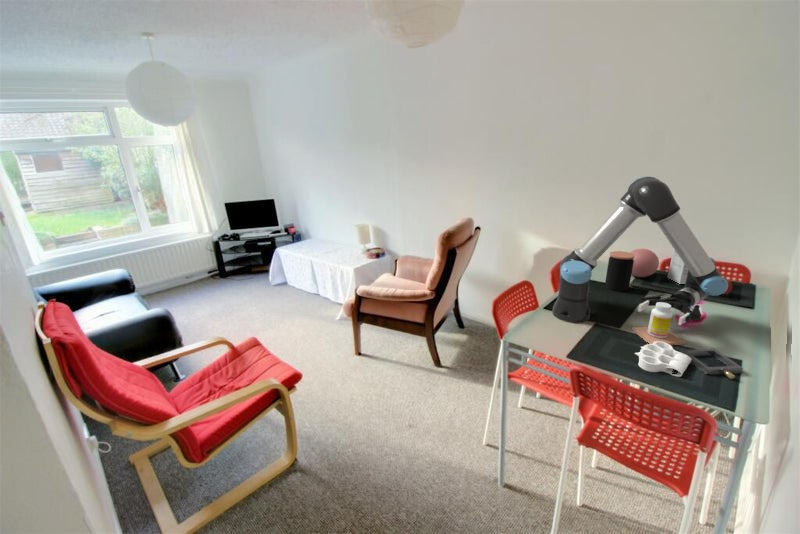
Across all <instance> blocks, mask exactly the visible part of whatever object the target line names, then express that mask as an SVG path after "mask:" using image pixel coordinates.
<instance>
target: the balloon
mask: <svg viewBox="0 0 800 534" xmlns="http://www.w3.org/2000/svg"><path fill="white" fill-rule="evenodd" d="M629 253H632V254H634V255H635V257H634V258H633V260H634V263H633V269H632V275H631V276H634V277H637V278H646V277H649V276H652V275H653V274H655V273H656V272H657V270H658V268H659V265H660V260H659V257H658V256H657V254H656V253H655V252H654V251H652V250H650V249H647V248H636V249H634V250H632V251H630V252H629Z"/></svg>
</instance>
